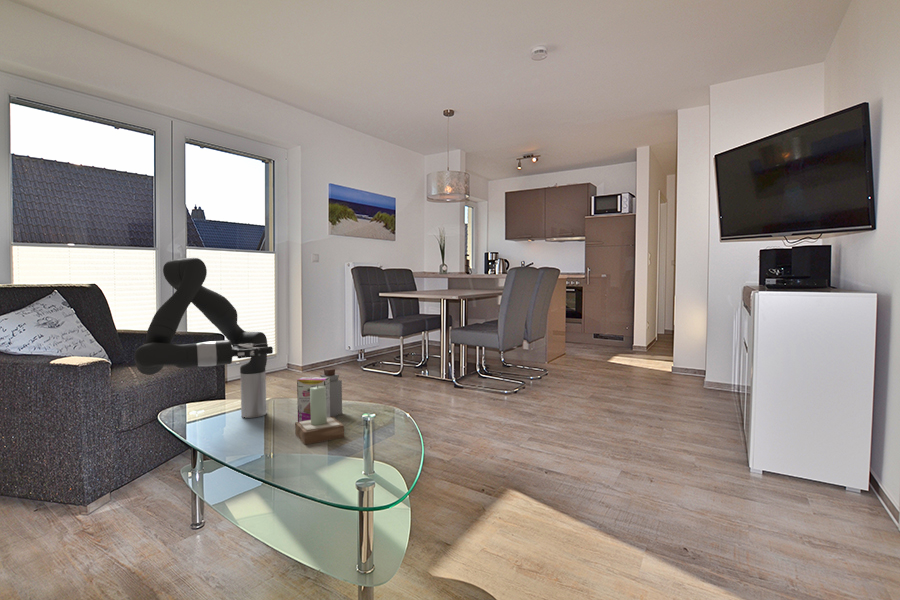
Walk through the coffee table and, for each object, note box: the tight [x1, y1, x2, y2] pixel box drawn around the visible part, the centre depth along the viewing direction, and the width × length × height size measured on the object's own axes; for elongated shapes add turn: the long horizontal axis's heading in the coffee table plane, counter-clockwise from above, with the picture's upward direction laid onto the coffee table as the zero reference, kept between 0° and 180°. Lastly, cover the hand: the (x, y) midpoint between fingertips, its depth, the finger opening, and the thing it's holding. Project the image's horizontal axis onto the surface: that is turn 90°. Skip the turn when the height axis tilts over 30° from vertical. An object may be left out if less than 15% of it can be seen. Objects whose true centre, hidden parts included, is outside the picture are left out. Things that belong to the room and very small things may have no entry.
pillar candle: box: [310, 385, 327, 425], centre depth 154 cm, size 5×5×13 cm
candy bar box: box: [296, 376, 330, 422], centre depth 171 cm, size 11×5×16 cm, turn 84°
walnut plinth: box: [294, 416, 345, 446], centre depth 154 cm, size 13×13×4 cm
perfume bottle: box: [319, 367, 343, 417], centre depth 180 cm, size 7×7×18 cm
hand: (270, 348), depth 147 cm, fingers open, 8 cm apart
